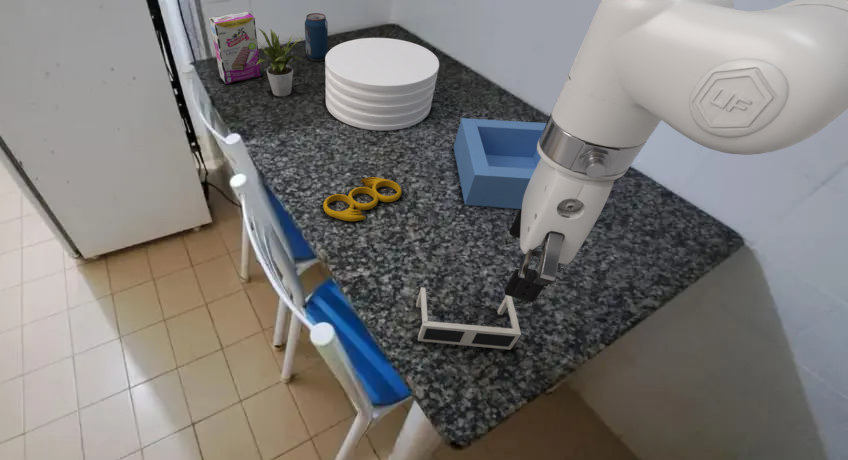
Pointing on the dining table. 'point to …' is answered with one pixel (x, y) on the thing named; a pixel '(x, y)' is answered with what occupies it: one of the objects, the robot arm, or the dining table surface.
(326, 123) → the dining table surface
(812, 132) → the robot arm
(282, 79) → the house plant
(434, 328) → the white sunglasses
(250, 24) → the candy bar box
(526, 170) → the bin
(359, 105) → the plate stack
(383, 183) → the yellow winged triple ring
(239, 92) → the dining table surface
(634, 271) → the dining table surface
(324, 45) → the soda can
